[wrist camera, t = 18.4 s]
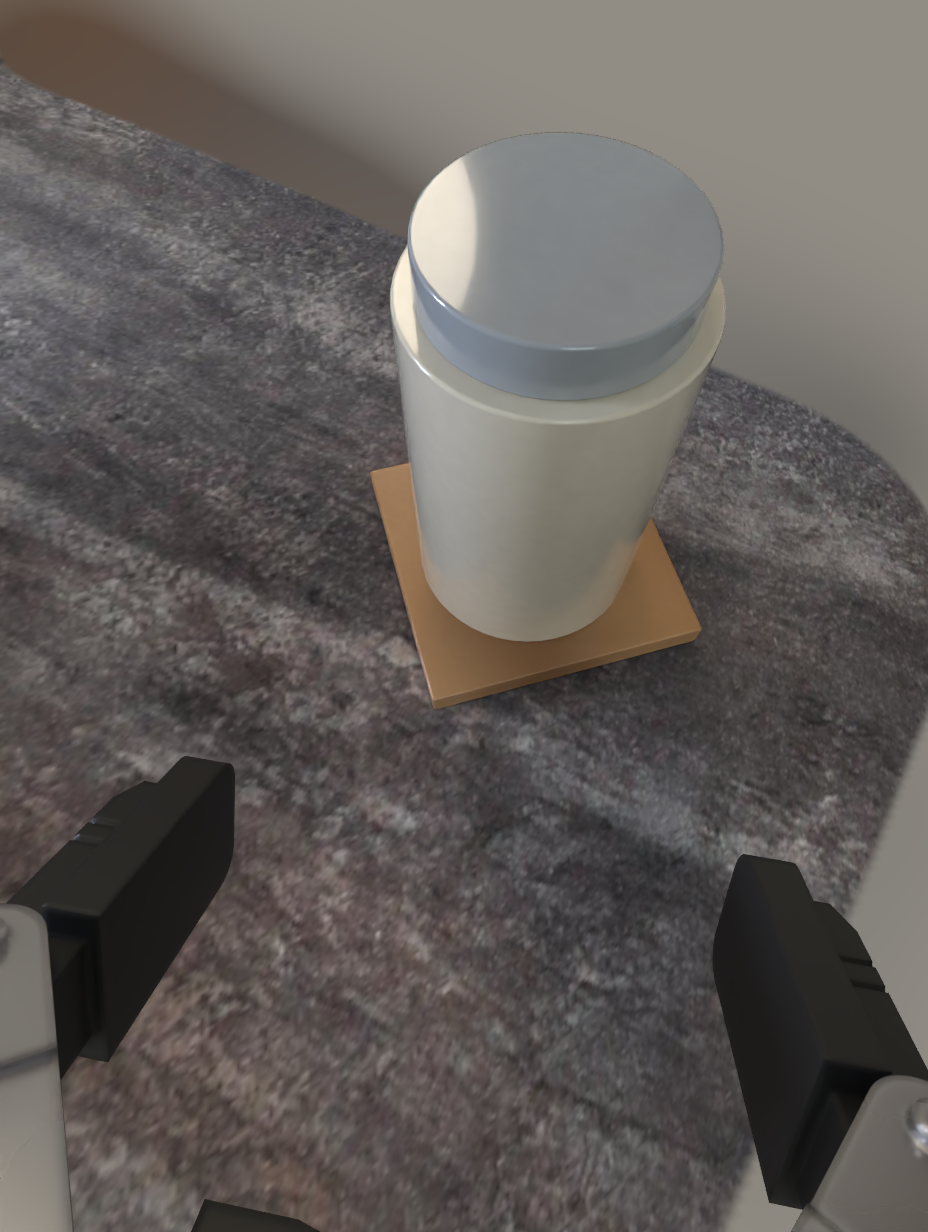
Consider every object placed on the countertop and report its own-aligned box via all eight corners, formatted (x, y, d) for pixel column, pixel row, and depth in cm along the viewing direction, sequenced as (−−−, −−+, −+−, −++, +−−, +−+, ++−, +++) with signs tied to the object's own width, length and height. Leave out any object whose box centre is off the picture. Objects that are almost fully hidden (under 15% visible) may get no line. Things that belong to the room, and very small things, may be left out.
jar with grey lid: (621, 462, 23) (724, 116, 14) (637, 644, 20) (778, 370, 11) (423, 460, 23) (392, 115, 14) (415, 641, 20) (369, 367, 11)
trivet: (602, 433, 24) (606, 416, 24) (695, 641, 21) (703, 629, 20) (372, 486, 23) (369, 470, 23) (433, 710, 20) (432, 701, 20)
